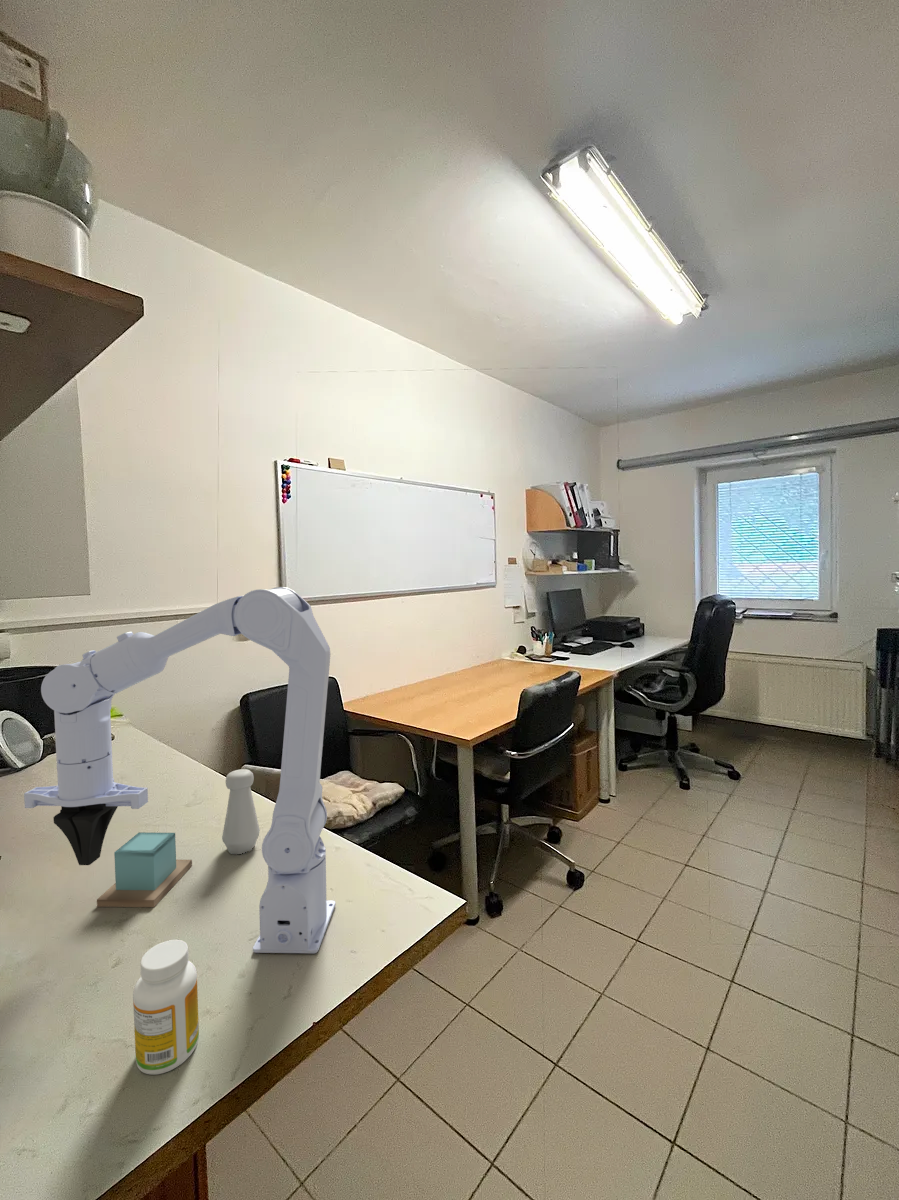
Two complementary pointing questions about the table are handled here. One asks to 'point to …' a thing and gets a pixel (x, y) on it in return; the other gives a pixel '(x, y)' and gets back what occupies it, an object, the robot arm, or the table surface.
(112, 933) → the table surface
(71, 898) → the table surface
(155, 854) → the teal lidded box
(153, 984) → the supplement bottle
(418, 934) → the table surface
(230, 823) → the salt shaker
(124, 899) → the post base
